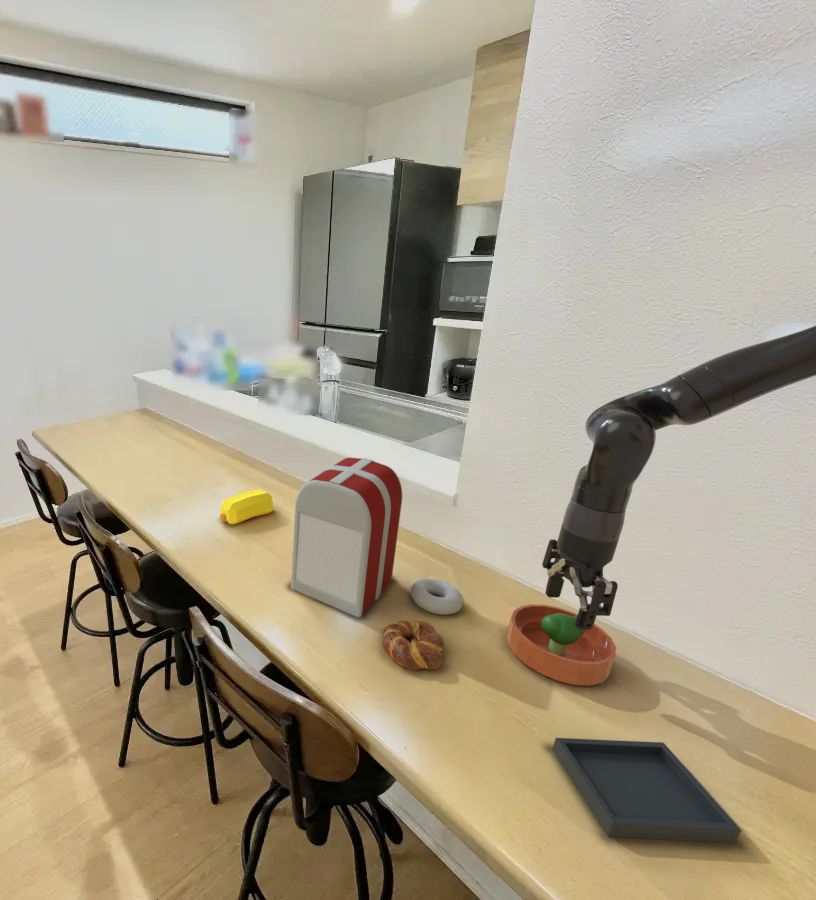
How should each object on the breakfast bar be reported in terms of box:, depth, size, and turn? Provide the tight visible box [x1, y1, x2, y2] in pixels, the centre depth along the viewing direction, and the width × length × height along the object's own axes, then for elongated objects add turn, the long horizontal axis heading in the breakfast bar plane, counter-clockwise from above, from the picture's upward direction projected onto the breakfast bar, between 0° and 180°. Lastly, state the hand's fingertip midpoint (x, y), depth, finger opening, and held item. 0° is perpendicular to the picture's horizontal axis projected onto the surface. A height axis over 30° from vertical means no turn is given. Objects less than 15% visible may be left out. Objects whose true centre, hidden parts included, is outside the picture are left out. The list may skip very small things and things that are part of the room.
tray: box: [552, 737, 742, 844], centre depth 64 cm, size 15×12×2 cm
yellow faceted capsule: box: [219, 488, 274, 526], centre depth 138 cm, size 18×7×8 cm
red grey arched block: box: [290, 456, 403, 618], centre depth 104 cm, size 16×18×27 cm
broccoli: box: [541, 613, 585, 656], centre depth 86 cm, size 7×5×8 cm
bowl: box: [506, 603, 617, 687], centre depth 87 cm, size 15×15×5 cm
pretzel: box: [381, 620, 445, 671], centre depth 89 cm, size 12×11×4 cm
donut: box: [410, 577, 464, 616], centre depth 101 cm, size 10×4×10 cm
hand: (566, 611), depth 85 cm, fingers open, 8 cm apart
